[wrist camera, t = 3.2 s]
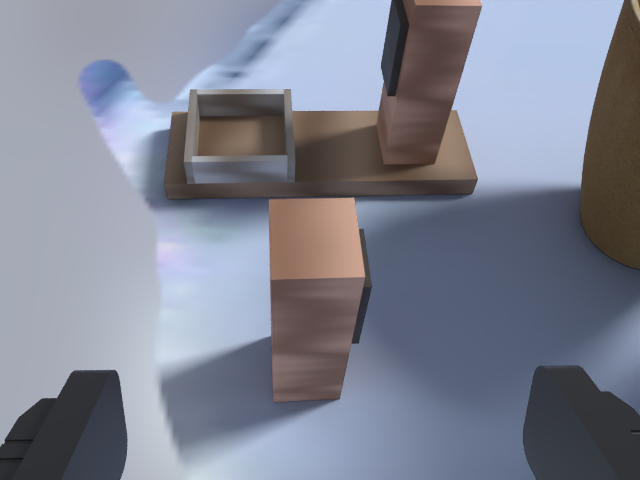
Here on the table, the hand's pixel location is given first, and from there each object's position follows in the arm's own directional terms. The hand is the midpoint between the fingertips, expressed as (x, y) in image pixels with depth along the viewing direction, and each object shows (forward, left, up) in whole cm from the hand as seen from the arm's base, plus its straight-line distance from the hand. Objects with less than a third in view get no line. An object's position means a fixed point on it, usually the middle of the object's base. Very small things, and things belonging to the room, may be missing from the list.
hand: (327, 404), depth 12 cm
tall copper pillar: (-1, -10, -20) cm, 22 cm away
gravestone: (-3, -26, -20) cm, 33 cm away
